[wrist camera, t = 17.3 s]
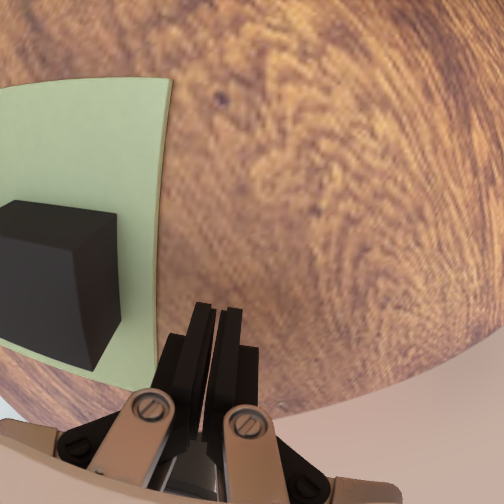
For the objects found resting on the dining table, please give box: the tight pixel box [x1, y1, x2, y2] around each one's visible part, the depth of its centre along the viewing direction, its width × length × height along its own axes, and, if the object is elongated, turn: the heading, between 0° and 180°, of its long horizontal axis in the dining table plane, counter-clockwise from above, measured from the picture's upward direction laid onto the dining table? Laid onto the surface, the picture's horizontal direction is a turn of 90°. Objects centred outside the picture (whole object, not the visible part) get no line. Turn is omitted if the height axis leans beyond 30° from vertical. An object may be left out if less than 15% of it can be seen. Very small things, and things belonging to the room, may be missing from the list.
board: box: [0, 77, 173, 392], centre depth 13 cm, size 18×18×3 cm
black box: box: [0, 200, 122, 372], centre depth 12 cm, size 6×6×4 cm
